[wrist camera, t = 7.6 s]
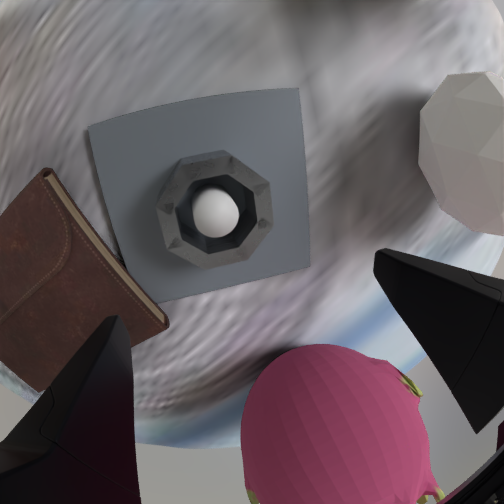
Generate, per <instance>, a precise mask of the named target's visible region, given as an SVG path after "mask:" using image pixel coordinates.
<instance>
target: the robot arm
mask: <svg viewBox="0 0 504 504" xmlns="http://www.w3.org/2000/svg"><path fill="white" fill-rule="evenodd" d="M373 273H374V276H375V278H376V279H377V281H378V283H379V284H380V286H381V287H382V289H383V291H384V292H385V294H386V296H387V297H388V299H389V301H390V302H391V304H392V305H393V307H394V308H395V310H396V311H397V313H398V314H399V315H400V317H401V318H402V319H403V321H404V322H405V324H406V325H407V326H408V328H409V329H410V330H411V332H412V333H413V335H414V336H415V338H416V339H417V340H418V342H419V343H420V345H421V346H422V348H423V349H424V351H425V352H426V354H427V355H428V356H429V358H430V359H431V361H432V362H433V364H434V366H435V367H436V369H437V370H438V372H439V373H440V375H441V376H442V378H443V379H444V381H445V383H446V384H447V386H448V387H449V389H450V390H451V392H452V394H453V396H454V397H455V399H456V400H457V402H458V404H459V406H460V407H461V409H462V411H463V413H464V414H465V416H466V418H467V420H468V421H469V423H470V425H471V427H472V428H473V430H474V432H475V433H476V434H478V433H479V432H480V431H481V430H482V429H483V428H484V427H485V426H486V425H487V424H488V423H489V422H490V421H491V420H492V419H493V418H494V417H495V416H496V415H497V414H498V413H499V412H500V411H501V410H502V409H503V408H504V280H503V279H498V278H494V277H490V276H487V275H483V274H479V273H476V272H472V271H469V270H468V271H467V270H465V269H462V268H458V267H455V266H451V265H448V264H444V263H440V262H437V261H433V260H429V259H426V258H422V257H418V256H414V255H411V254H407V253H403V252H399V251H395V250H391V249H387V248H384V249H381V250H378V251H376V253H375V259H374V268H373ZM135 450H136V449H135V432H134V381H133V368H132V356H131V343H130V336H129V333H128V331H127V329H126V327H125V325H124V323H123V321H122V319H121V317H120V316H119V315H117V314H116V315H111V316H107V317H106V318H105V319H104V320H103V321H102V323H101V324H100V325H99V326H98V327H97V328H96V329H95V331H94V332H93V333H92V334H91V335H90V336H89V338H88V339H87V340H86V341H85V342H84V343H83V345H82V346H81V347H80V348H79V349H78V351H77V352H76V353H75V354H74V355H73V357H72V358H71V359H70V360H69V361H68V363H67V364H66V365H65V366H64V367H63V369H62V370H61V371H60V372H59V374H58V375H57V376H56V377H55V379H54V380H53V381H52V382H51V384H50V386H48V388H47V389H46V390H45V391H44V393H43V394H42V395H41V397H40V398H39V399H38V400H37V402H36V403H35V404H34V405H33V406H32V408H31V409H30V410H29V411H28V412H27V413H26V415H25V416H24V417H23V418H22V419H21V420H20V422H19V423H18V424H17V425H16V426H15V427H14V428H13V430H12V431H11V432H10V433H9V434H8V436H7V437H6V438H5V439H4V440H3V441H2V442H0V504H141V497H140V490H139V482H138V474H137V463H136V451H135ZM437 504H504V421H503V422H502V423H501V424H500V425H499V426H498V439H497V449H496V453H495V454H494V455H493V456H492V457H491V458H490V459H489V460H488V461H487V462H486V463H485V464H484V465H483V466H482V467H480V468H479V469H478V470H477V471H476V472H475V473H474V474H473V475H472V476H470V477H469V478H468V479H467V480H466V481H465V482H464V483H462V484H461V485H460V486H459V487H458V488H456V489H455V490H454V491H453V492H451V493H450V494H449V495H447V496H446V497H445V498H443V499H442V500H441V501H439V502H438V503H437Z"/></svg>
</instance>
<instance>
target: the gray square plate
mask: <svg viewBox="0 0 504 504" xmlns="http://www.w3.org/2000/svg"><path fill="white" fill-rule="evenodd" d="M88 132H89V137H90V142H91V147H92V152H93V156H94V160H95V165H96V169H97V173H98V177H99V181H100V185H101V189H102V192H103V196H104V200H105V203H106V207H107V210H108V213H109V217H110V220H111V223H112V226H113V229H114V233H115V236H116V239H117V242H118V245H119V248H120V250H121V253H122V256H123V259H124V262H125V264H126V267H127V270H128V272H129V273H130V275H131V276H132V277H133V278H134V279H135V280H136V282H137V283H138V284H139V285H140V286H141V287H142V288H143V290H144V291H145V292H146V293H147V294H148V295H149V296H150V297H151V299H152V300H153V301H154V302H155V303H161V302H165V301H170V300H174V299H179V298H183V297H188V296H192V295H196V294H201V293H205V292H209V291H214V290H218V289H222V288H226V287H230V286H235V285H239V284H243V283H247V282H251V281H255V280H259V279H263V278H267V277H271V276H275V275H279V274H283V273H287V272H291V271H295V270H299V269H302V268H306V267H310V235H309V210H308V191H307V174H306V160H305V147H304V135H303V124H302V114H301V104H300V95H299V88H285V89H269V90H256V91H246V92H237V93H229V94H221V95H214V96H208V97H202V98H196V99H190V100H185V101H180V102H175V103H170V104H166V105H161V106H157V107H153V108H149V109H145V110H141V111H137V112H133V113H130V114H126V115H122V116H119V117H116V118H112V119H109V120H106V121H103V122H100V123H97V124H94V125H91V126H88ZM219 150H225V151H227V152H228V153H229V154H231V155H232V156H234V157H235V158H237V159H238V160H239V161H241V162H242V163H244V164H245V165H246V166H248V167H249V168H251V169H252V170H253V171H255V172H256V173H258V174H259V175H260V176H262V177H263V178H264V179H266V180H267V181H268V182H270V190H271V200H272V209H273V219H274V226H273V228H272V229H271V230H270V232H269V233H268V234H267V235H266V237H265V238H264V239H263V241H262V242H261V243H260V245H259V246H258V247H257V248H256V250H255V251H254V252H253V254H252V255H251V256H250V258H249V259H248V260H245V261H241V262H237V263H233V264H228V265H224V266H220V267H216V268H211V269H207V270H204V269H202V268H200V267H198V266H197V265H195V264H193V263H191V262H189V261H187V260H185V259H183V258H182V257H180V256H178V255H176V254H174V253H172V252H170V251H169V250H167V248H166V244H165V241H164V237H163V233H162V230H161V226H160V222H159V218H158V215H157V211H156V207H155V206H156V202H157V198H158V193H159V192H160V190H161V188H162V187H163V185H164V184H165V182H166V181H167V179H168V178H169V176H170V174H171V173H172V171H173V170H174V168H175V167H176V165H177V164H178V163H179V161H180V160H181V158H184V157H188V156H193V155H198V154H203V153H208V152H213V151H219ZM177 208H178V213H179V217H180V221H181V222H182V223H184V224H185V225H187V226H189V227H190V228H192V229H194V230H196V231H197V232H199V233H201V234H203V235H206V236H208V237H222V236H225V235H227V234H228V233H230V232H231V231H232V230H233V229H234V228H235V226H236V224H237V222H238V218H239V216H240V215H241V214H242V212H243V211H244V210H245V208H246V203H245V196H244V188H243V184H241V183H240V182H238V181H237V180H235V179H234V178H232V177H231V176H229V175H228V174H225V175H220V176H215V177H210V178H205V179H200V180H195V181H193V182H192V183H191V185H190V186H189V188H188V189H187V191H186V192H185V194H184V195H183V197H182V198H181V200H180V201H179V203H178V204H177Z"/></svg>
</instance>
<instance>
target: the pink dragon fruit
mask: <svg viewBox="0 0 504 504" xmlns="http://www.w3.org/2000/svg"><path fill="white" fill-rule="evenodd" d="M422 396H423V394H422V392H421V391H420V389H419V388H418V387H417V386H416V385H415V384H414V383H413V382H412V380H410V379H409V378H408V377H407V376H405V375H404V374H403V373H402V372H400V371H399V370H398V369H397V368H395V367H394V366H393V365H392V364H390V363H389V362H388V361H386V360H380V359H375V358H370V357H367V356H365V355H363V354H361V353H359V352H357V351H355V350H352V349H349V348H345V347H341V346H337V345H330V344H313V345H305V346H301V347H298V348H295V349H292V350H290V351H287V352H286V353H284V354H282V355H280V356H279V357H277V358H276V359H275V360H274V361H272V362H271V363H270V364H269V365H268V366H267V367H266V368H265V369H264V370H263V371H262V373H261V374H260V375H259V376H258V378H257V379H256V381H255V383H254V385H253V386H252V388H251V390H250V392H249V395H248V397H247V400H246V403H245V407H244V411H243V415H242V421H241V450H242V457H243V466H244V478H245V487H246V490H247V494H248V497H249V500H250V502H251V504H259V503H260V504H416V502H417V503H419V504H424V503H426V502H427V500H428V495H433V496H434V498H435V500H436V502H437V503H438V502H439V501H441V500H442V499H443V498H445V495H444V493H443V492H442V490H441V489H440V488H439V486H438V485H437V483H436V481H435V478H434V476H433V474H432V472H431V467H430V459H429V440H428V434H427V431H426V428H425V426H424V423H423V420H422V418H421V415H420V413H419V411H418V404H419V402H420V397H422Z"/></svg>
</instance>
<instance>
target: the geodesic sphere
mask: <svg viewBox="0 0 504 504" xmlns="http://www.w3.org/2000/svg"><path fill="white" fill-rule="evenodd" d="M418 165H419V166H420V168H421V170H422V172H423V174H424V176H425V178H426V180H427V182H428V183H429V185H430V187H431V189H432V191H433V193H434V196H435V198H436V200H437V202H438V204H439V206H440V208H441V210H443V211H444V212H446V213H447V214H449V215H450V216H452V217H453V218H455V219H456V220H458V221H459V222H460V223H462V224H463V225H465V226H466V227H467V228H469V229H470V230H472V231H476V232H482V233H488V234H494V235H500V236H504V78H503V77H501V76H499V75H497V74H494V73H492V72H490V71H488V72H473V73H461V74H452V75H447V77H446V78H445V79H444V81H443V82H442V83H441V85H440V86H439V87H438V89H437V90H436V91H435V93H434V94H433V95H432V96H431V98H430V99H429V100H428V102H427V103H426V104H425V105H424V107H423V108H422V109H421V111H420V139H419V158H418Z"/></svg>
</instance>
